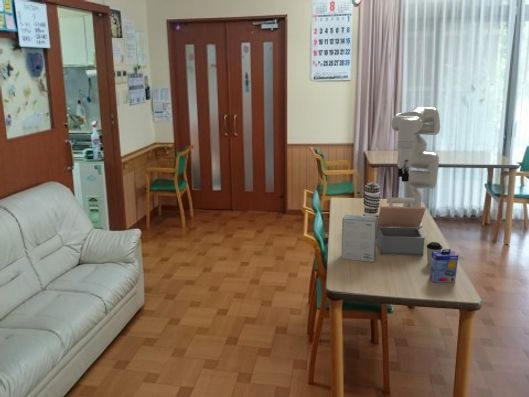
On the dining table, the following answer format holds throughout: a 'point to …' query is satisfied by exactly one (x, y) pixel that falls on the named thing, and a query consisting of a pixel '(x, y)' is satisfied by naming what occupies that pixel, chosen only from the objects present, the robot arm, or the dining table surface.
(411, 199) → the flap
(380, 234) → the box
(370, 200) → the decorative candle
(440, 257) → the ink cartridge box
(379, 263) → the dining table surface
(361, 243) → the hard drive box
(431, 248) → the coffee cup
